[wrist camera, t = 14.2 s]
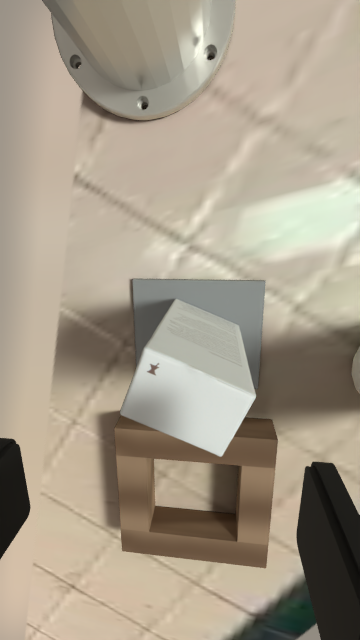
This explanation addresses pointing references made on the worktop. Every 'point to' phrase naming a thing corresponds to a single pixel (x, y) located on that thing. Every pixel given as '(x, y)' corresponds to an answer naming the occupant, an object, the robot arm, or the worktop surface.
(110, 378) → the worktop surface
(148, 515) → the holder block
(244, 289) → the rubber mat
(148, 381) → the skincare box
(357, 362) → the supplement can
